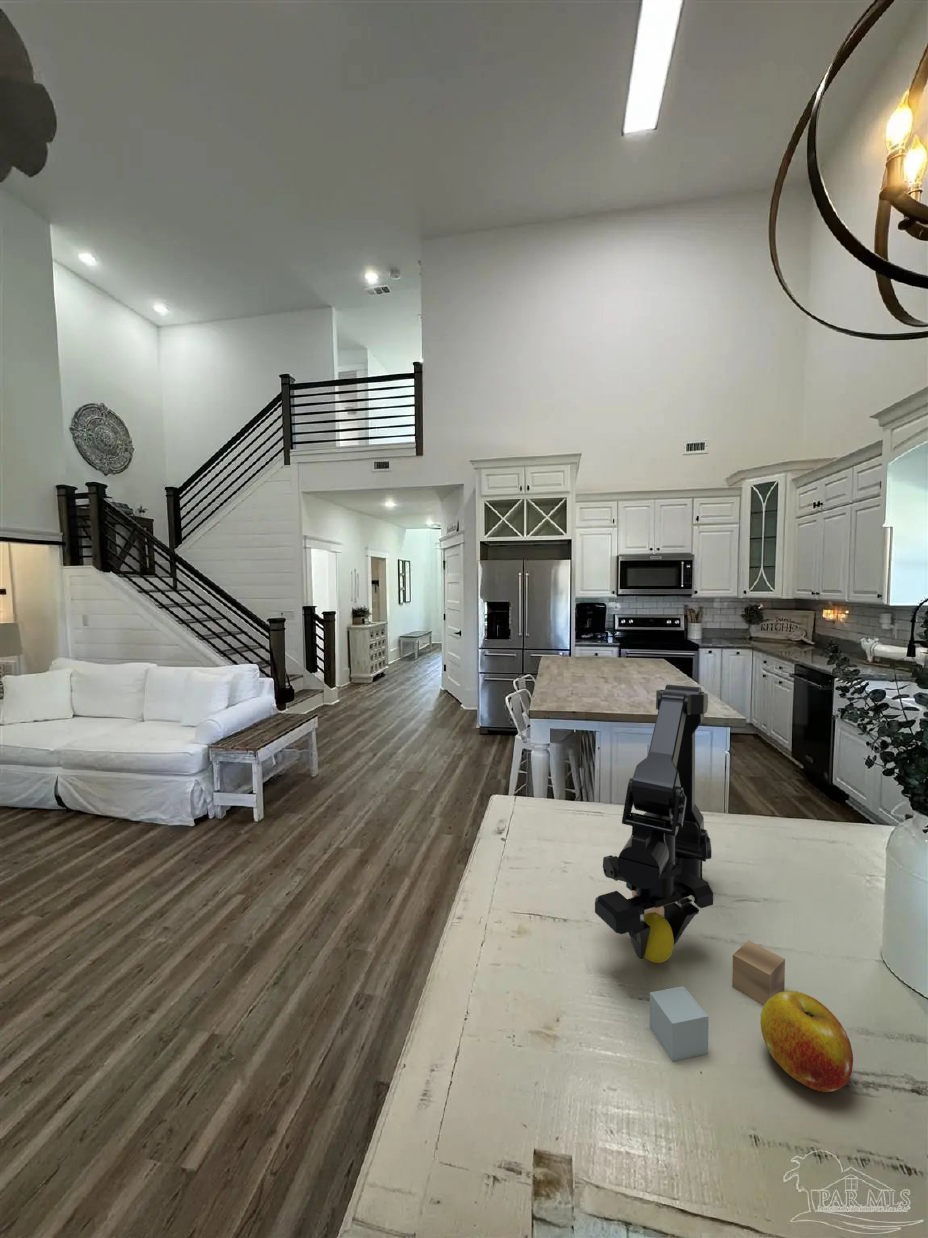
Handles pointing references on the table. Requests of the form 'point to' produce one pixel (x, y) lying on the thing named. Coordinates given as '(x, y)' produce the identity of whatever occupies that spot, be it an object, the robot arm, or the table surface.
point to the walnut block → (758, 972)
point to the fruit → (807, 1041)
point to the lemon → (658, 938)
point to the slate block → (678, 1023)
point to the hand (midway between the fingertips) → (654, 952)
